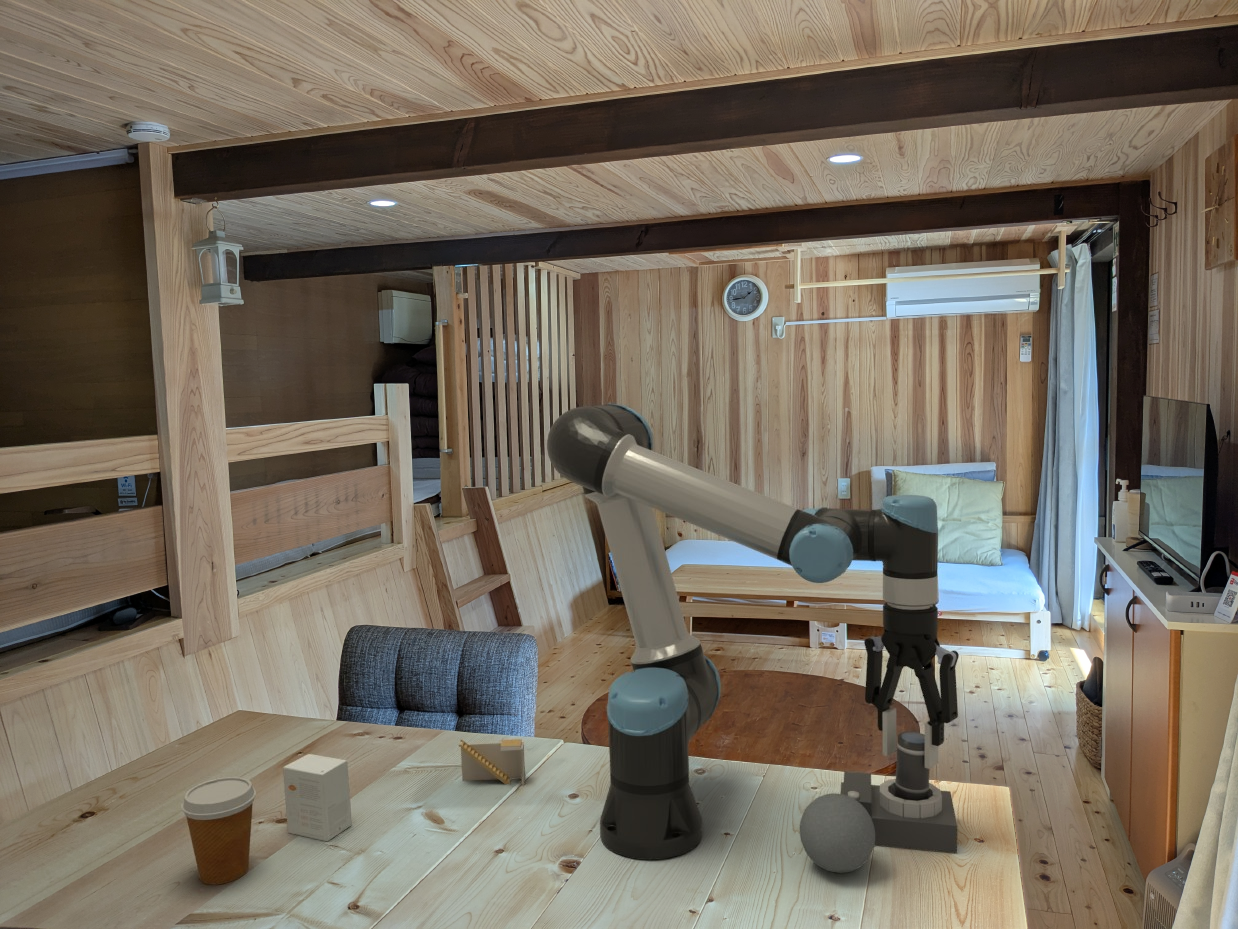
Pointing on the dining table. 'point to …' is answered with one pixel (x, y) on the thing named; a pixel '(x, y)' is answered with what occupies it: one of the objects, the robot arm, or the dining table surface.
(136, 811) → the dining table surface
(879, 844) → the camera body
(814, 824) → the decorative stone
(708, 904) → the dining table surface
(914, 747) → the lens
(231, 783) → the disposable coffee cup
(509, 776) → the model
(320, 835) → the small box
